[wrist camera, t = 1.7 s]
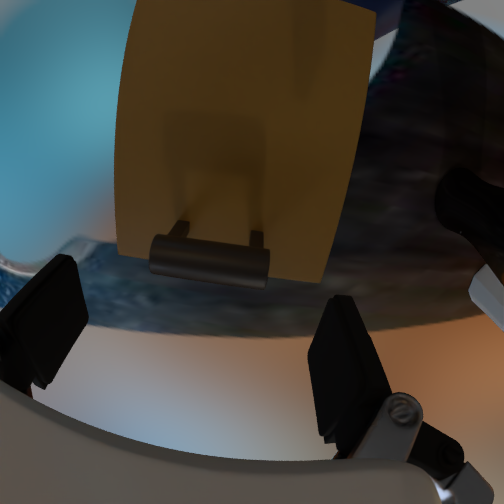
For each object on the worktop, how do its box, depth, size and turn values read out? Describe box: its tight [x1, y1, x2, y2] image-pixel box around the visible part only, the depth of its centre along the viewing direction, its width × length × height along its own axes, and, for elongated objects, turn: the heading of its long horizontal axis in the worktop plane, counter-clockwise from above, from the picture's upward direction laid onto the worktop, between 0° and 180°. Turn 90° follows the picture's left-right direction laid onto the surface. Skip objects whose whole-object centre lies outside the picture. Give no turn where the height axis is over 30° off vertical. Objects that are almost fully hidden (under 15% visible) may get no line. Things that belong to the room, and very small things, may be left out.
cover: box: [114, 0, 376, 290], centre depth 11 cm, size 16×13×5 cm
